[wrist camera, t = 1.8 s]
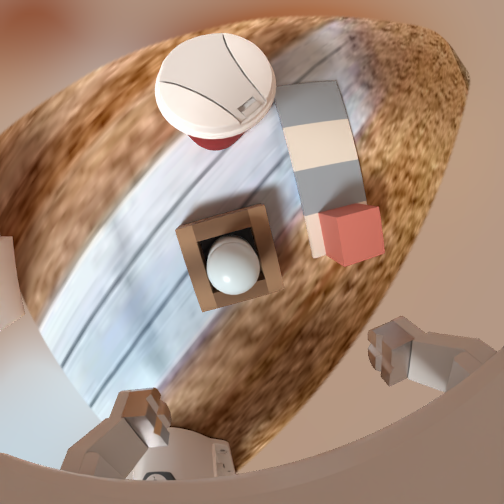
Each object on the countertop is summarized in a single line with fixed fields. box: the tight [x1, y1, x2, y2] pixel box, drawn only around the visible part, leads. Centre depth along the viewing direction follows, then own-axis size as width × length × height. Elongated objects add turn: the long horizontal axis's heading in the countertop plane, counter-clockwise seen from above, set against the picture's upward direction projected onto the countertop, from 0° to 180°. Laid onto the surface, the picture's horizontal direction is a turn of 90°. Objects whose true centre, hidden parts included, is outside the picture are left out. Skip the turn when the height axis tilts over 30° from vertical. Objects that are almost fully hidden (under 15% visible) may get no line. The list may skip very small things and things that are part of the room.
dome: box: [207, 235, 260, 295], centre depth 26 cm, size 5×5×6 cm
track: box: [274, 81, 367, 258], centre depth 29 cm, size 20×8×1 cm, turn 14°
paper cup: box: [155, 33, 276, 150], centre depth 20 cm, size 8×8×14 cm
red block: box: [318, 203, 385, 267], centre depth 28 cm, size 5×5×5 cm
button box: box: [175, 204, 285, 312], centre depth 29 cm, size 9×9×3 cm
